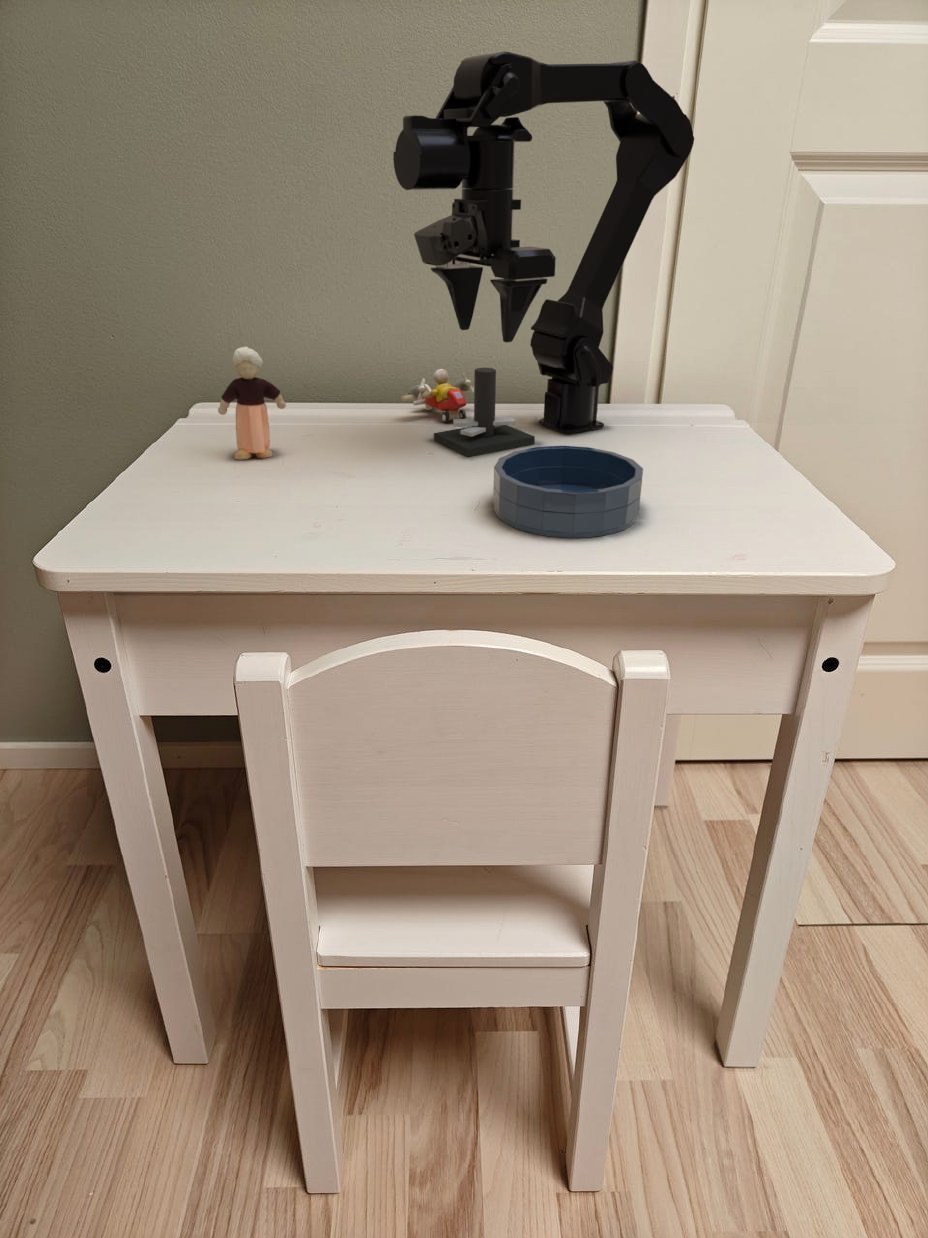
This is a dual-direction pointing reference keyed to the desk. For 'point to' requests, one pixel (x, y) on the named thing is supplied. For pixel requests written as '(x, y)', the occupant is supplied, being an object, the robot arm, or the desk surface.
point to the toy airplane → (442, 395)
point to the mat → (484, 440)
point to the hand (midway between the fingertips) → (485, 335)
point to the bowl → (567, 491)
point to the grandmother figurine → (250, 405)
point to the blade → (483, 407)
